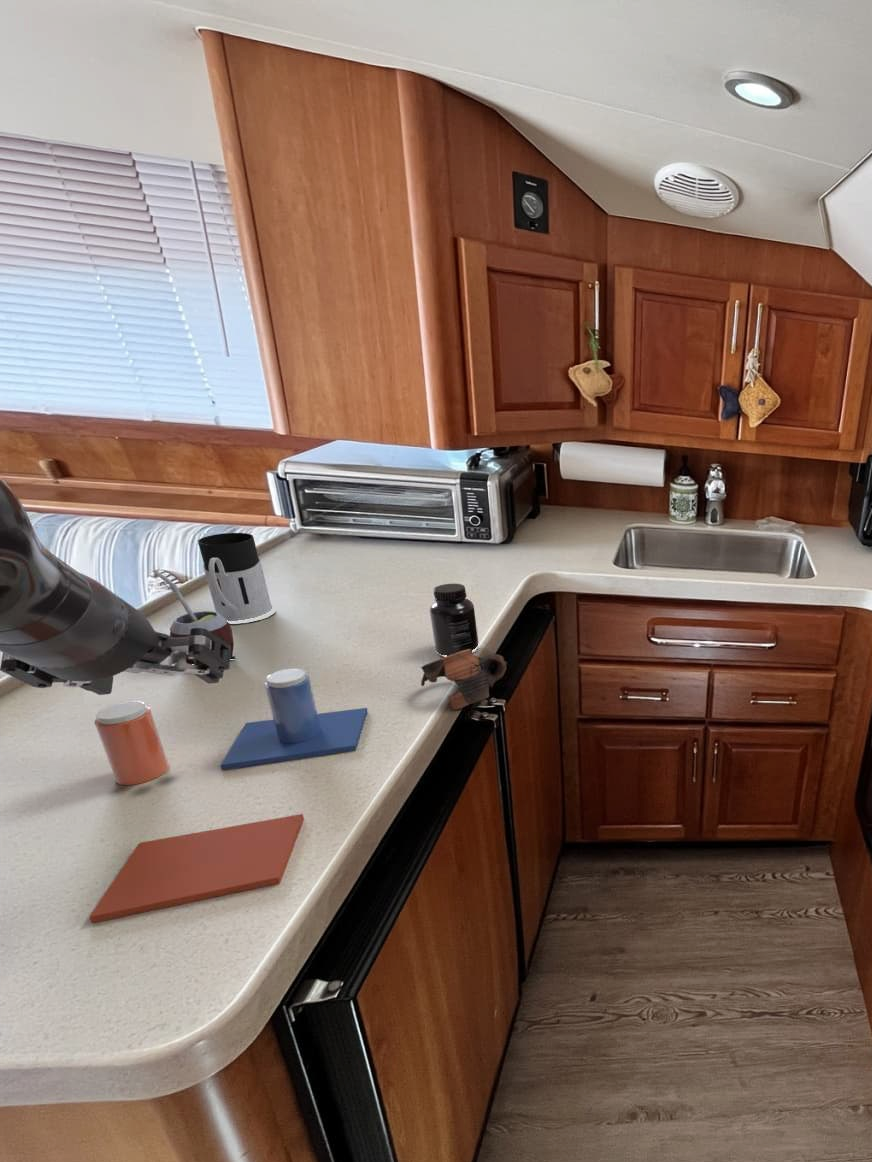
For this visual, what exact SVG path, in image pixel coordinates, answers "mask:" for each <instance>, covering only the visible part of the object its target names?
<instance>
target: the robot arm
mask: <svg viewBox="0 0 872 1162" xmlns="http://www.w3.org/2000/svg"><path fill="white" fill-rule="evenodd" d="M230 651H231V646H230V645H229V644H227V643H226V642H224V641H223V640H221V639H220V638H218V637H217V636H215V635H214V634H213V633H211V632H210V631H208V630H207V629H204V628H193V629H190V636H189V637H179V638H172V637H170V634H166V633H162V632H159V631H156V630H155V629H154V627H153V625H152V624H151V622H150V621H149V620H148V618H147V617H146V615H144V614H143V613H142V612H141V611H139V610H138V609H137V608H135V607H134V606H132V604H130V603H128V602H127V601H125V600H124V599H123V598H122V597H120V596H119V595H117V594H116V593H114V592H113V591H111V590H110V589H109V588H108V587H106V586H105V585H104V584H102V583H100V582H99V581H98V580H96V579H93V578H92V577H90V576H88V575H87V574H84V573H82V572H79V571H77V569H74V568H73V567H72V566H70V565H69V564H67V563H66V562H65V561H63V560H62V559H60V558H59V557H57V556H56V555H55V554H53V553H52V552H51V551H50V550H49V549H48V548H47V547H46V546H45V545H44V544H43V543H42V542H41V541H40V539H39V537H38V535H37V533H36V531H35V529H34V526H33V524H32V522H31V520H30V517H29V514H28V513H27V510H26V509H25V507H24V506H23V504H22V502H21V501H20V499H19V497H18V495H17V494H16V493H15V492H14V490H13V488H11V486H9V484H7V482H6V481H5V480H4V479H3V478H2V477H0V652H1V653H2V655H1V662H0V671H1V672H3V673H4V674H6V675H8V676H10V677H12V678H15V679H16V680H18V681H21V682H23V683H25V684H27V685H29V686H31V687H33V688H38V689H45V688H51V687H53V683H62V686H63V687H67V688H80V689H83V690H85V691H88V692H92V693H95V694H96V695H98V696H104V695H105V696H106V695H110V694H111V693H112V690H113V684H114V676H116V675H118V674H121V673H130V674H140V673H149V674H157V675H165V676H175V675H178V674H180V673H186V674H193V675H194V676H196V677H198V678H199V679H201V680H202V681H204V682H205V683H207V684H210V685H211V684H217V683H219V681H220V679H223V678H224V671H227V670H229V669H230V664H231V661H230ZM187 654H188V658H190V659H193V658H195V659H194V665H192V664H188V663H187V662H186V655H187ZM167 658H168V662H167V664H162V663H163V662H164V661H165V660H167Z"/></svg>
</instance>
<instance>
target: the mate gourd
mask: <svg viewBox="0 0 872 1162" xmlns="http://www.w3.org/2000/svg"><path fill="white" fill-rule="evenodd" d="M152 573H153V574H154V575H156V576H157V577H159V578H160V579H161V580H163V582H165V583H166V584H168V586H169V589H170V590H171V591H172V593H174V594H175V596H176V597H177V599H178V600H179V602H180V604H181V605H182V607H183V608H184V610H185V611H186V614H183V615H180V616H178V617H176V618H175V619H174V621H173V622H172V624H171V625H170V627H169V636H170V637H172V638H179V637H189V636H190V629H193V628H204V629H207V630H208V631H210V632H211V633H213V634H214V635H215V636H217V637H218V638H220V639H221V640H223V641H224V642H226V643H227V644H229V645H230V646H231V651H230V659H235V660H236V656H235V655H234V656H233V654H234V653H233V652H234V646H235V643H234V636H233V630H232V627H231V625H229V623H228V622H227V620H226V619H225V618H224V617H223V616H222V615H220V614H219V613H217V612H216V611H211V610H208V611H207V610H203V611H194V612H193V611H192V609H191V607H190V606H189V605H188V603H187V601H186V599H185V598H184V597H183V595H182V593H181V592H180V588H179V587H178V586H177V584H176V583H174V582H173V581H172V580H170V579H169V578H168V577H166V576H165V575H164V574H162V573H161V572H159V571H158V570H157V569H154V570H152ZM194 659H195V658H193V659H190V658H188V654H187V655H186V662H187V663H188V664H194Z"/></svg>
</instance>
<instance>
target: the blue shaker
mask: <svg viewBox="0 0 872 1162" xmlns="http://www.w3.org/2000/svg"><path fill="white" fill-rule="evenodd" d="M265 680H266V682H265V683H264V688H265V689H264V690H265V693H266V697H267V700H268V704H269V709H270V712H271V716H272V720H274V724H275V728H276V732H277V736H278V739H279V741H280V742H282V743H285V744H295V743H300V742H304V741H307V740H310V739H312V738H314V737H315V736H317V735H318V734H319V733H320V732H321V726H320V722H319V717H318V714H319V713H318V709H317V705H316V701H315V696H314V692H313V691H314V690H313V688H312V682H311V679H310V675H308V674H307V673H306V671H305V670H304V669H302V668H294V667H293V668H285V669H281V670H278V671H274V672H272V673H271V674H269V675H268V676H267V677H266V679H265Z"/></svg>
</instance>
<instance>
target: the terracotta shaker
mask: <svg viewBox="0 0 872 1162" xmlns="http://www.w3.org/2000/svg"><path fill="white" fill-rule="evenodd" d="M95 717H96V719H95V720H94V721H93V723H94V726H95V729H96V732H97V734H98V737H99V740H100V742H101V744H102V748H103V750H104V752H105V753H104V754H105V756H106V757H107V760H108V763H109V767H110V769H111V771H112V774H113V776H114V779H115V781H116V783H117V784H119V785H122V786H134V785H139V784H143V783H147V782H150V781H152V780H154V779H157V778H159V777H161V776H162V775H164V774H166V772H167V771H168V770H169V768H170V763H169V760H168V757H167V755H166V751H165V749H164V745H163V743H162V739H161V737H160V734H159V731H158V728H157V725H156V721H155V719H154V716H153V714H152V709H151V708H150V707H149V706H146V703H144V701H140V700H139V701H138V700H128V701H123V702H117V703H113V704H111V705H108V706H106V707H104V708H102V709H100V710H98V711H97V713H96V714H95Z"/></svg>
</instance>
